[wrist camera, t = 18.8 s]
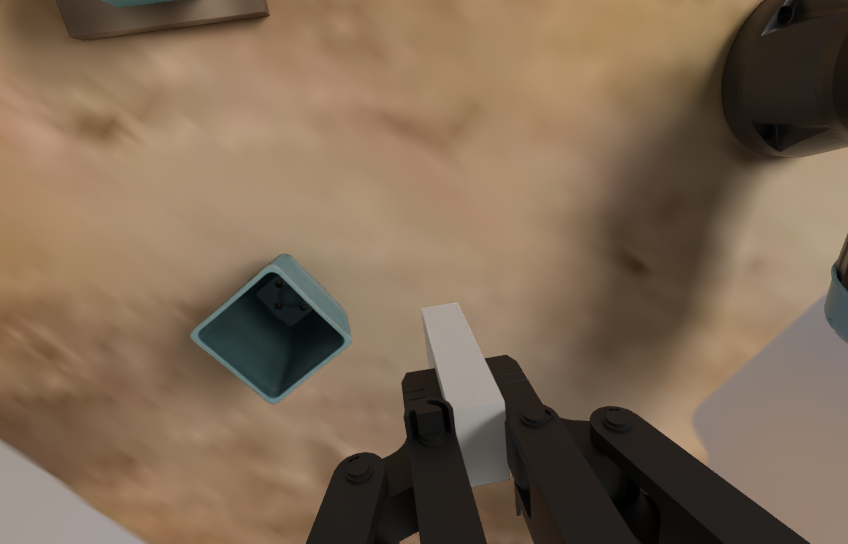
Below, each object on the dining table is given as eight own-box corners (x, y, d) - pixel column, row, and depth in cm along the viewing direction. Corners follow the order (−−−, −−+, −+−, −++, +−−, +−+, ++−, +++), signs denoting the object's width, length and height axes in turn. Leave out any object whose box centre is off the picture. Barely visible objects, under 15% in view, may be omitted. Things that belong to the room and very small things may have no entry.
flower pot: (221, 291, 41) (185, 336, 33) (291, 230, 40) (271, 261, 31) (290, 351, 44) (273, 408, 36) (356, 297, 43) (355, 341, 34)
